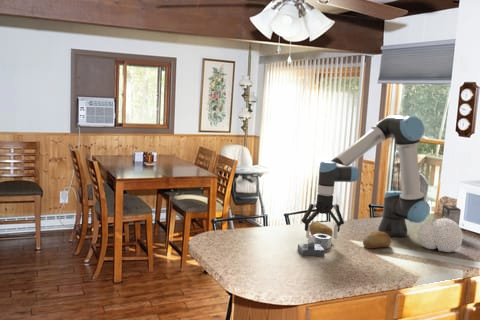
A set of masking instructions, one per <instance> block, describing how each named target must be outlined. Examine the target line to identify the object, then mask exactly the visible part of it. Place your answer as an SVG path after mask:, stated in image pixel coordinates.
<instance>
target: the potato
mask: <svg viewBox="0 0 480 320" xmlns="http://www.w3.org/2000/svg"><path fill="white" fill-rule="evenodd" d="M309 224H310V232H309V234H310V235H314V234H326V235H329V236H330V237H331V238H332V237H333V235H334V231H333V229H332V228H331V227H330V226H328V225H326V224H324V223H321V222H318V221H311V222H310V223H309Z"/></svg>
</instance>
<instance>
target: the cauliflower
mask: <svg viewBox="0 0 480 320" xmlns="http://www.w3.org/2000/svg"><path fill="white" fill-rule="evenodd" d="M463 239H464V238H463V231H462V228H461V227H460V224H459V225H458V224H457V223H456V222H454V221H453V220H450V219H447V218H443V219H442V217H440V218H438V219H437V218H436V219H435V220H434V221H432V223H431V222H426V223H425V224H423V225H421V226H420V228H419V229H418V230H417V240H418V241H419V243H420V245H421V246H423V247H424V248H425V249H427V250H436V249H437V250H438V252H444V253H452V252H455V251H456V250H458V249H459V248H460V247H461V245H462V243H463Z"/></svg>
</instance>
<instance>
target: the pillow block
mask: <svg viewBox="0 0 480 320" xmlns="http://www.w3.org/2000/svg"><path fill="white" fill-rule="evenodd" d="M307 239H308V241H307V243H297V251H298V252H299V254H300V255H301V256H302V257H303V256H308V257H309V256H311V258H312V256H313V257H315V256H316V257H323V258H324V257H325V253H326V249H323V248H322V247H321V245H320V244H315V236H314V235H311V234H309V238H307ZM308 257H307V258H308ZM316 257H315V258H316ZM309 258H310V257H309Z"/></svg>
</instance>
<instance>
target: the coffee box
mask: <svg viewBox="0 0 480 320" xmlns="http://www.w3.org/2000/svg"><path fill="white" fill-rule="evenodd" d="M441 209H442V210H441V218H442V219H443V218H447V219H450V220H453V221H454V222H456V223H457V224H458V225H459V226H460V220H461V213H462V212H461V210H462V209H460V208H459V207H457V206H455V205H450V204H449V205H446V204H444V205H443V204H442V208H441Z"/></svg>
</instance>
